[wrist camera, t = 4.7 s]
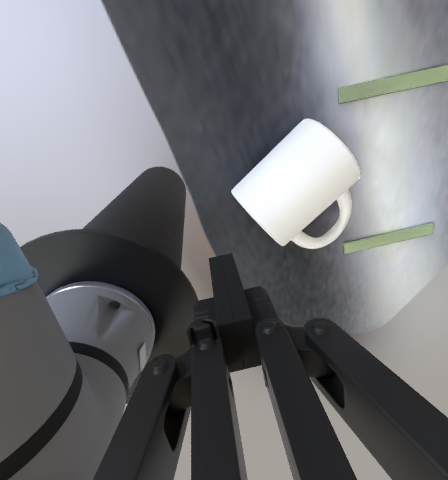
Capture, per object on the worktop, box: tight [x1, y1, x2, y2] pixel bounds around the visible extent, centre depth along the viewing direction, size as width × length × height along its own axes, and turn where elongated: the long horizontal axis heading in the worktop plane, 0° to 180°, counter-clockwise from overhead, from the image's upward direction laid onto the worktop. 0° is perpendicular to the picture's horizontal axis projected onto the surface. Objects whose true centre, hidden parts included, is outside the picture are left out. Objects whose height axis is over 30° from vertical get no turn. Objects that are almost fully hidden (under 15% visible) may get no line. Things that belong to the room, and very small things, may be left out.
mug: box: [231, 119, 361, 249], centre depth 29 cm, size 12×10×8 cm
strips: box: [338, 65, 448, 254], centre depth 33 cm, size 12×20×1 cm, turn 11°
